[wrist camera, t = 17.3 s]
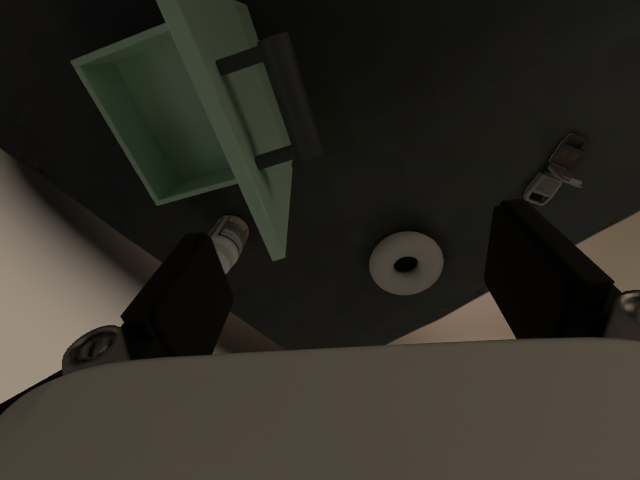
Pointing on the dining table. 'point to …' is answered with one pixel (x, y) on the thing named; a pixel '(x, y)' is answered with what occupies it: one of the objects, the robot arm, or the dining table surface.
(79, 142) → the dining table surface
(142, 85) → the box
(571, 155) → the strap clip
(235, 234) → the pill bottle
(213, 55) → the lunchbox lid
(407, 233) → the donut
